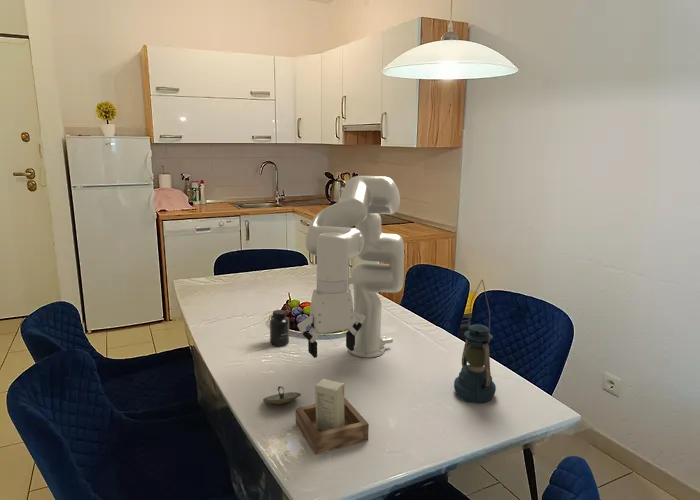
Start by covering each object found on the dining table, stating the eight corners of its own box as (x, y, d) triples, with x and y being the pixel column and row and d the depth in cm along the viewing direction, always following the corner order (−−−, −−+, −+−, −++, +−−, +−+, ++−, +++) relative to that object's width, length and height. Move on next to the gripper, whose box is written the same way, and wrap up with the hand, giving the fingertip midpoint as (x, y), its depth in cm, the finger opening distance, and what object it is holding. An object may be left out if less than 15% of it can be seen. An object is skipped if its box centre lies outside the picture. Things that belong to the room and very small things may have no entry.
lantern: (505, 403, 142) (516, 285, 135) (468, 409, 139) (477, 288, 131) (479, 380, 156) (487, 271, 148) (444, 385, 152) (451, 274, 145)
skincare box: (345, 427, 127) (345, 383, 125) (337, 436, 124) (337, 390, 121) (323, 420, 130) (323, 377, 127) (314, 429, 126) (314, 384, 124)
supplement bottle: (285, 348, 177) (285, 315, 175) (267, 346, 179) (266, 314, 176) (291, 340, 184) (291, 309, 181) (274, 338, 185) (273, 307, 183)
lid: (268, 416, 134) (268, 399, 132) (258, 399, 142) (258, 383, 141) (306, 408, 138) (306, 391, 137) (294, 392, 147) (293, 376, 146)
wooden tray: (344, 412, 136) (344, 397, 135) (368, 440, 124) (368, 423, 123) (295, 424, 130) (295, 408, 129) (315, 454, 118) (315, 437, 117)
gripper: (358, 277, 126) (357, 341, 129) (292, 284, 118) (293, 352, 122) (372, 285, 119) (370, 352, 123) (303, 293, 112) (303, 364, 116)
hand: (331, 352), depth 123 cm, fingers open, 9 cm apart
